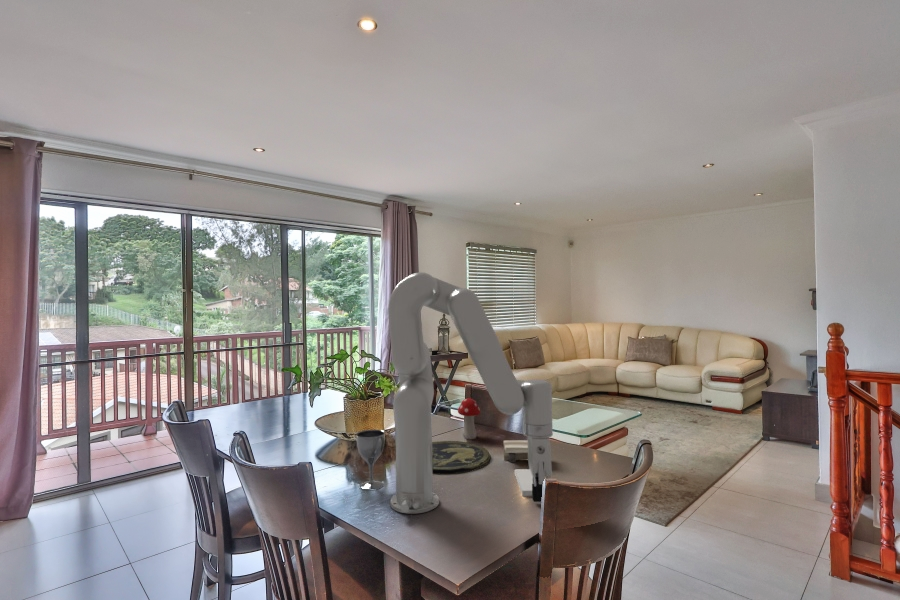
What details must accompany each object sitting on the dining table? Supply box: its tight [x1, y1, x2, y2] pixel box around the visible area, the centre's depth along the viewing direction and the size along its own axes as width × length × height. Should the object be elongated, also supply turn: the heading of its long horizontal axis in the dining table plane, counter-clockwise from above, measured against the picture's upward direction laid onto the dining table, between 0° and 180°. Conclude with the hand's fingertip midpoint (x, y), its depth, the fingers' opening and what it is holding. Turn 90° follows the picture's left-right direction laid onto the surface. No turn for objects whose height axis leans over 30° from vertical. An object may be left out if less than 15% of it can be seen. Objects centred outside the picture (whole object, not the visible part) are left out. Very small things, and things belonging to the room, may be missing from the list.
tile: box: [514, 468, 547, 497], centre depth 132 cm, size 16×8×2 cm, turn 179°
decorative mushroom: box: [457, 397, 481, 440], centre depth 180 cm, size 10×9×15 cm
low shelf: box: [503, 439, 528, 463], centre depth 150 cm, size 8×13×6 cm, turn 87°
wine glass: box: [356, 429, 386, 490], centre depth 133 cm, size 8×8×15 cm
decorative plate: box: [432, 440, 491, 475], centre depth 156 cm, size 30×2×30 cm
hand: (538, 500), depth 119 cm, fingers closed
